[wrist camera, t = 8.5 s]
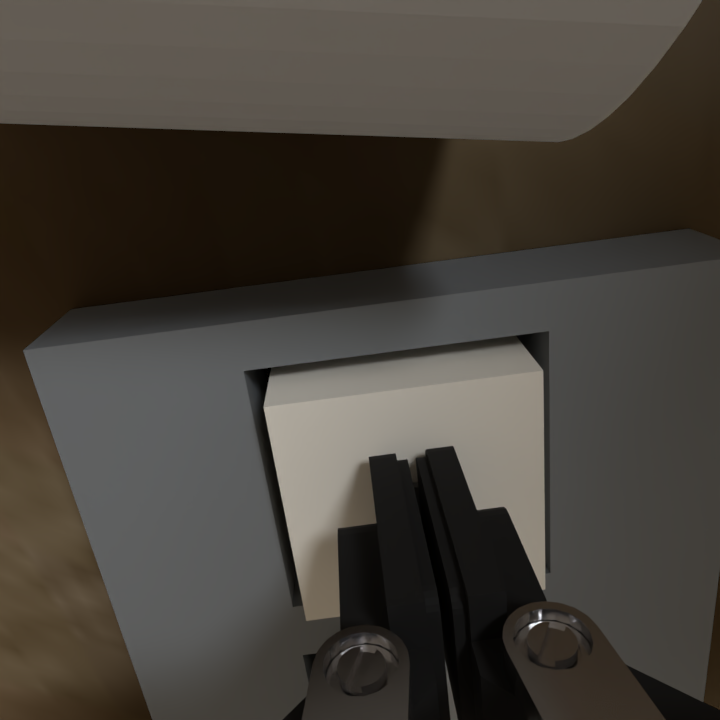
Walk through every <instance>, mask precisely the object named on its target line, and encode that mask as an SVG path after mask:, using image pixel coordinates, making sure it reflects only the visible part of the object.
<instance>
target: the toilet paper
mask: <svg viewBox="0 0 720 720" xmlns="http://www.w3.org/2000/svg"><path fill="white" fill-rule="evenodd" d="M701 2H702V0H0V123H4V124H34V125H63V126H93V127H123V128H153V129H183V130H213V131H242V132H272V133H302V134H332V135H362V136H391V137H421V138H451V139H481V140H511V141H540V142H561V141H566V140H570V139H573V138H575V137H577V136H579V135H582V134H584V133H586V132H588V131H590V130H591V129H592V128H594V127H595V126H596V125H598V124H599V123H600V122H602V121H603V120H604V119H606V118H607V117H609V116H610V115H611V114H612V113H613V112H614V111H615V110H616V109H617V108H618V107H619V106H620V105H621V104H622V103H623V102H624V101H625V100H626V99H627V98H628V97H630V96H631V94H632V93H633V92H634V91H635V90H636V89H637V88H638V86H639V85H640V84H641V83H642V82H643V81H644V79H645V78H646V77H647V76H648V75H649V74H650V72H651V71H652V70H653V69H654V68H655V67H656V65H657V64H658V63H659V61H660V60H661V59H662V57H663V56H664V55H665V53H666V52H667V51H668V49H669V48H670V47H671V45H672V44H673V43H674V41H675V40H676V39H677V37H678V36H679V34H680V33H681V32H682V30H683V29H684V28H685V26H686V25H687V23H688V22H689V20H690V19H691V17H692V16H693V14H694V13H695V11H696V10H697V8H698V6H699V5H700V3H701Z"/></svg>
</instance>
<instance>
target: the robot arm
mask: <svg viewBox="0 0 720 720" xmlns="http://www.w3.org/2000/svg"><path fill="white" fill-rule="evenodd" d="M369 464H370V473H371V481H372V489H373V497H374V506H375V514H376V522H377V523H375V524H367V525H359V526H352V527H344V528H338V567H339V601H340V631H339V632H337V633H335V634H334V635H333V636H331V637H330V638H328V639H327V640H326V641H325V642H324V643H323V645H322V646H321V647H320V648H319V650H318V651H317V653H316V656H315V659H314V661H313V665H312V670H311V675H310V680H309V685H308V690H307V695H306V697H305V698H304V699H303V700H302V701H301V702H300V703H299V704H298V705H297V706H296V707H295V708H294V709H293V710H292V711H291V712H290V713H289V714H288V715H287V716H286V717H285V718H284V719H283V720H450V709H449V698H448V687H447V677H446V666H447V671H448V676H449V681H450V685H451V690H452V695H453V699H454V704H455V709H456V713H457V718H458V720H720V710H718V709H716V708H714V707H712V706H710V705H708V704H706V703H704V702H702V701H700V700H698V699H696V698H694V697H692V696H690V695H687V694H685V693H683V692H681V691H679V690H677V689H675V688H673V687H671V686H669V685H667V684H665V683H663V682H661V681H659V680H657V679H655V678H652V677H650V676H648V675H646V674H644V673H642V672H640V671H638V670H636V669H634V668H632V667H630V666H628V665H626V664H625V663H624V662H623V660H622V659H621V657H620V656H619V655H618V653H617V652H616V651H615V649H614V648H613V646H612V645H611V644H610V642H609V641H608V639H607V638H606V637H605V635H604V634H603V633H602V631H601V630H600V628H599V627H598V626H597V625H596V624H595V623H594V622H593V621H592V620H591V618H590V617H589V616H588V615H586V614H584V613H583V612H581V611H579V610H578V609H576V608H574V607H571V606H568V605H565V604H562V603H558V602H548V601H547V600H546V597H545V595H544V593H543V591H542V588H541V586H540V584H539V581H538V579H537V577H536V575H535V572H534V570H533V568H532V565H531V563H530V561H529V559H528V556H527V554H526V552H525V549H524V547H523V545H522V543H521V540H520V538H519V536H518V533H517V531H516V529H515V527H514V524H513V522H512V520H511V517H510V515H509V513H508V511H507V509H506V508H505V507H497V508H489V509H482V510H477V509H476V506H475V503H474V501H473V498H472V495H471V493H470V490H469V487H468V484H467V482H466V479H465V476H464V473H463V471H462V468H461V465H460V462H459V460H458V457H457V454H456V451H455V449H454V447H453V446H447V447H439V448H432V449H426V450H425V457H420V458H416V468H417V478H418V488H419V498H420V508H421V517H420V512H419V508H418V503H417V499H416V494H415V490H414V486H413V481H412V477H411V472H410V468H409V464H408V460H407V459H404V460H397V457H396V453H394V454H386V455H378V456H371V457H369ZM421 518H422V521H421ZM445 662H446V666H445Z"/></svg>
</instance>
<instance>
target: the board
mask: <svg viewBox="0 0 720 720" xmlns="http://www.w3.org/2000/svg"><path fill="white" fill-rule="evenodd" d="M515 335H516V337H517V338H518V339H519V340H520V342H521V343H522V344H523V345H524V347H525V348H526V349H527V351H528V352H529V353H530V354H531V356H532V357H533V358H534V359H535V361H536V362H537V363H538V364H539V366H540V367H541V368H542V369H543V386H544V492H545V590H542V591H543V593H544V595H545V597H546V600H547V601H548V602H558V603H562V604H565V605H568V606H571V607H574V608H576V609H578V610H579V611H581V612H583V613H584V614H586V615H588V616H589V617H590V618H591V620H592V621H593V622H594V623H595V624H596V625H597V626H598V627H599V628H600V630H601V631H602V633H603V634H604V635H605V637H606V638H607V639H608V641H609V642H610V644H611V645H612V646H613V648H614V649H615V651H616V652H617V653H618V655H619V656H620V657H621V659H622V660H623V662H624V663H625V664H626V665H628V666H630V667H632V668H634V669H636V670H638V671H640V672H642V673H644V674H646V675H648V676H650V677H652V678H655V679H657V680H659V681H661V682H663V683H665V684H667V685H669V686H671V687H673V688H675V689H677V690H679V691H681V692H683V693H685V694H687V695H690V696H692V697H694V698H696V699H698V700H700V701H702V702H703V701H704V693H705V685H706V677H707V669H708V661H709V653H710V645H711V637H712V629H713V621H714V613H715V605H716V597H717V589H718V581H719V572H720V240H719V239H717V238H714V237H711V236H709V235H706V234H703V233H700V232H698V231H695V230H692V229H690V228H689V229H681V230H674V231H666V232H658V233H651V234H643V235H635V236H628V237H620V238H613V239H605V240H597V241H590V242H582V243H574V244H567V245H559V246H551V247H544V248H536V249H528V250H521V251H513V252H505V253H498V254H490V255H482V256H475V257H467V258H459V259H452V260H444V261H436V262H429V263H421V264H414V265H406V266H398V267H391V268H383V269H375V270H368V271H360V272H352V273H345V274H337V275H329V276H322V277H314V278H306V279H299V280H291V281H283V282H276V283H268V284H260V285H253V286H245V287H237V288H230V289H222V290H215V291H207V292H199V293H192V294H184V295H176V296H169V297H161V298H153V299H146V300H138V301H130V302H123V303H115V304H107V305H100V306H92V307H84V308H77V309H71V310H70V311H68V312H67V313H66V314H65V315H64V316H63V317H61V318H60V319H59V320H58V321H57V322H56V323H54V324H53V325H52V326H51V327H50V328H49V329H47V330H46V331H45V332H44V333H43V334H41V335H40V336H39V337H38V338H37V339H36V340H34V341H33V342H32V343H31V344H30V345H29V346H27V347H26V348H25V349H24V350H23V352H24V355H25V358H26V361H27V364H28V367H29V370H30V372H31V375H32V378H33V381H34V384H35V387H36V389H37V392H38V395H39V398H40V401H41V404H42V407H43V409H44V412H45V415H46V418H47V421H48V424H49V427H50V429H51V432H52V435H53V438H54V441H55V444H56V447H57V449H58V452H59V455H60V458H61V461H62V464H63V467H64V469H65V472H66V475H67V478H68V481H69V484H70V487H71V489H72V492H73V495H74V498H75V501H76V504H77V507H78V509H79V512H80V515H81V518H82V521H83V524H84V527H85V529H86V532H87V535H88V538H89V541H90V544H91V546H92V549H93V552H94V555H95V558H96V561H97V564H98V566H99V569H100V572H101V575H102V578H103V581H104V584H105V586H106V589H107V592H108V595H109V598H110V601H111V604H112V606H113V609H114V612H115V615H116V618H117V621H118V624H119V626H120V629H121V632H122V635H123V638H124V641H125V644H126V646H127V649H128V652H129V655H130V658H131V661H132V664H133V666H134V669H135V672H136V675H137V678H138V681H139V684H140V686H141V689H142V692H143V695H144V698H145V701H146V703H147V706H148V709H149V712H150V715H151V718H152V720H283V719H284V718H285V717H286V716H287V715H288V714H289V713H290V712H291V711H292V710H293V709H294V708H295V707H296V706H297V705H298V704H299V703H300V702H301V701H302V700H303V699H304V698H305V697H306V695H307V690H308V685H309V680H310V675H311V670H312V665H313V661H314V659H315V656H316V653H317V651H318V650H319V648H320V647H321V646H322V645H323V643H324V642H325V641H326V640H327V639H328V638H330V637H331V636H333V635H334V634H335V633H337V632H339V631H340V617H333V618H325V619H317V620H310V621H306V617H305V612H304V607H303V602H302V597H301V592H300V587H299V582H298V577H297V572H296V567H295V562H294V557H293V552H292V547H291V542H290V537H289V532H288V527H287V522H286V517H285V512H284V507H283V502H282V497H281V492H280V487H279V482H278V477H277V472H276V467H275V462H274V457H273V452H272V447H271V442H270V437H269V432H268V427H267V422H266V417H265V412H264V402H265V397H266V392H267V382H266V376H265V371H264V368H271V367H278V366H286V365H294V364H301V363H309V362H317V361H324V360H332V359H339V358H347V357H355V356H362V355H370V354H378V353H385V352H393V351H401V350H408V349H416V348H424V347H431V346H439V345H446V344H454V343H462V342H469V341H477V340H485V339H492V338H500V337H508V336H515Z"/></svg>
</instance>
